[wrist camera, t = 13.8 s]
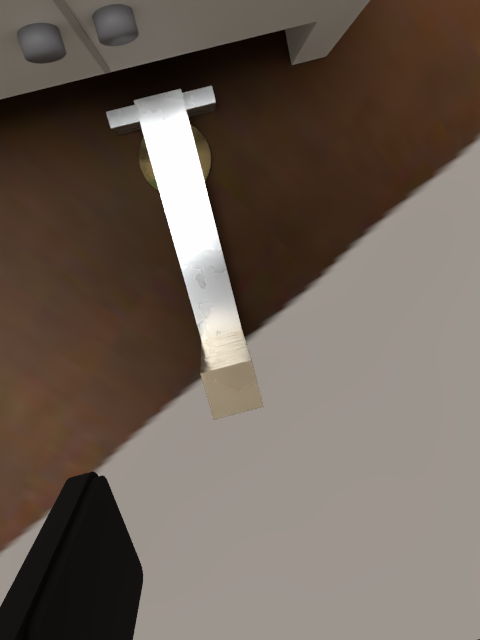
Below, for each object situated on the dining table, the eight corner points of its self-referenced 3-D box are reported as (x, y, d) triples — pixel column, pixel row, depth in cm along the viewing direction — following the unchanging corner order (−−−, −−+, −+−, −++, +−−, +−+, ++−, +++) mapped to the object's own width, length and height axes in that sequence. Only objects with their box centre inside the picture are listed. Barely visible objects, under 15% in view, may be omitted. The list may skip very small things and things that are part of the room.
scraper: (270, 345, 34) (296, 398, 25) (187, 367, 34) (180, 428, 25) (211, 95, 29) (214, 38, 20) (114, 120, 29) (69, 74, 20)
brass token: (198, 114, 30) (198, 110, 29) (219, 185, 31) (219, 184, 30) (131, 135, 30) (128, 131, 29) (154, 205, 31) (152, 204, 30)
